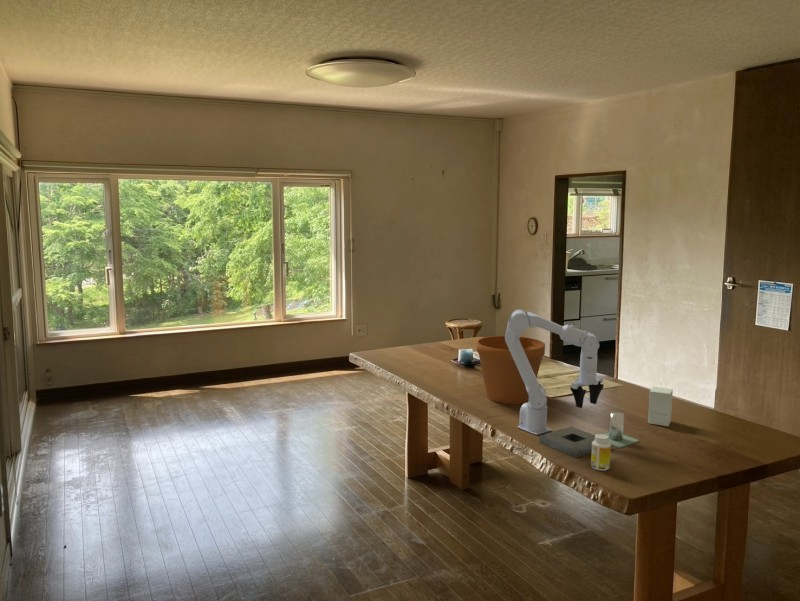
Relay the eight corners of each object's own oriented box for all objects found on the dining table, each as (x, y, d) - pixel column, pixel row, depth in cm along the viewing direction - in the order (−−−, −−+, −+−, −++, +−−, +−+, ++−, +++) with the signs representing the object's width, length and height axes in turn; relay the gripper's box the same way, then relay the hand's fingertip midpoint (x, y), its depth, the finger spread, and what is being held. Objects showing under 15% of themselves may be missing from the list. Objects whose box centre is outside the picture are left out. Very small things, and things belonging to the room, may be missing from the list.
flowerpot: (548, 392, 271) (551, 339, 267) (534, 411, 245) (536, 353, 242) (486, 384, 282) (488, 333, 279) (466, 401, 257) (467, 346, 254)
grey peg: (606, 438, 217) (607, 413, 215) (614, 435, 219) (615, 410, 218) (617, 442, 213) (618, 416, 212) (625, 439, 216) (626, 414, 214)
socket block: (539, 442, 213) (539, 435, 213) (570, 433, 222) (570, 426, 222) (576, 458, 200) (577, 450, 200) (608, 447, 209) (608, 440, 209)
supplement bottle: (612, 467, 193) (614, 436, 191) (604, 473, 189) (606, 440, 187) (595, 462, 197) (597, 431, 195) (587, 467, 193) (589, 436, 191)
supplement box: (671, 421, 235) (673, 388, 234) (668, 427, 229) (670, 393, 227) (650, 417, 239) (652, 385, 237) (647, 423, 233) (649, 390, 231)
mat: (592, 438, 217) (592, 437, 217) (612, 431, 224) (612, 430, 224) (619, 448, 209) (619, 447, 208) (639, 441, 215) (639, 440, 215)
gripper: (583, 373, 211) (581, 412, 213) (610, 367, 219) (608, 404, 221) (567, 368, 217) (565, 406, 219) (594, 363, 225) (592, 399, 227)
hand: (586, 405), depth 220 cm, fingers open, 7 cm apart
